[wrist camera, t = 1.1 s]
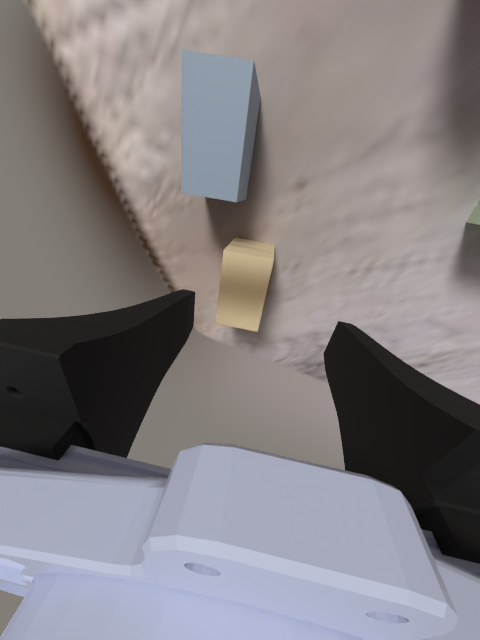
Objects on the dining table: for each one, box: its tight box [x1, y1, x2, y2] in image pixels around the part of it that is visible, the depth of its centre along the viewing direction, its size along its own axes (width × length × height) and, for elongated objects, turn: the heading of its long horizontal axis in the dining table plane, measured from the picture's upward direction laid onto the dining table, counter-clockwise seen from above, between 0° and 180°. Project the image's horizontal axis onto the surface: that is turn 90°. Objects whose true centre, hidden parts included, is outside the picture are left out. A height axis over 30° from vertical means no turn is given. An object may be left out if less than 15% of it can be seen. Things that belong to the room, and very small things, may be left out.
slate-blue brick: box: [181, 50, 261, 202], centre depth 14 cm, size 6×4×5 cm, turn 172°
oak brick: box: [216, 237, 275, 332], centre depth 19 cm, size 6×4×5 cm, turn 172°
